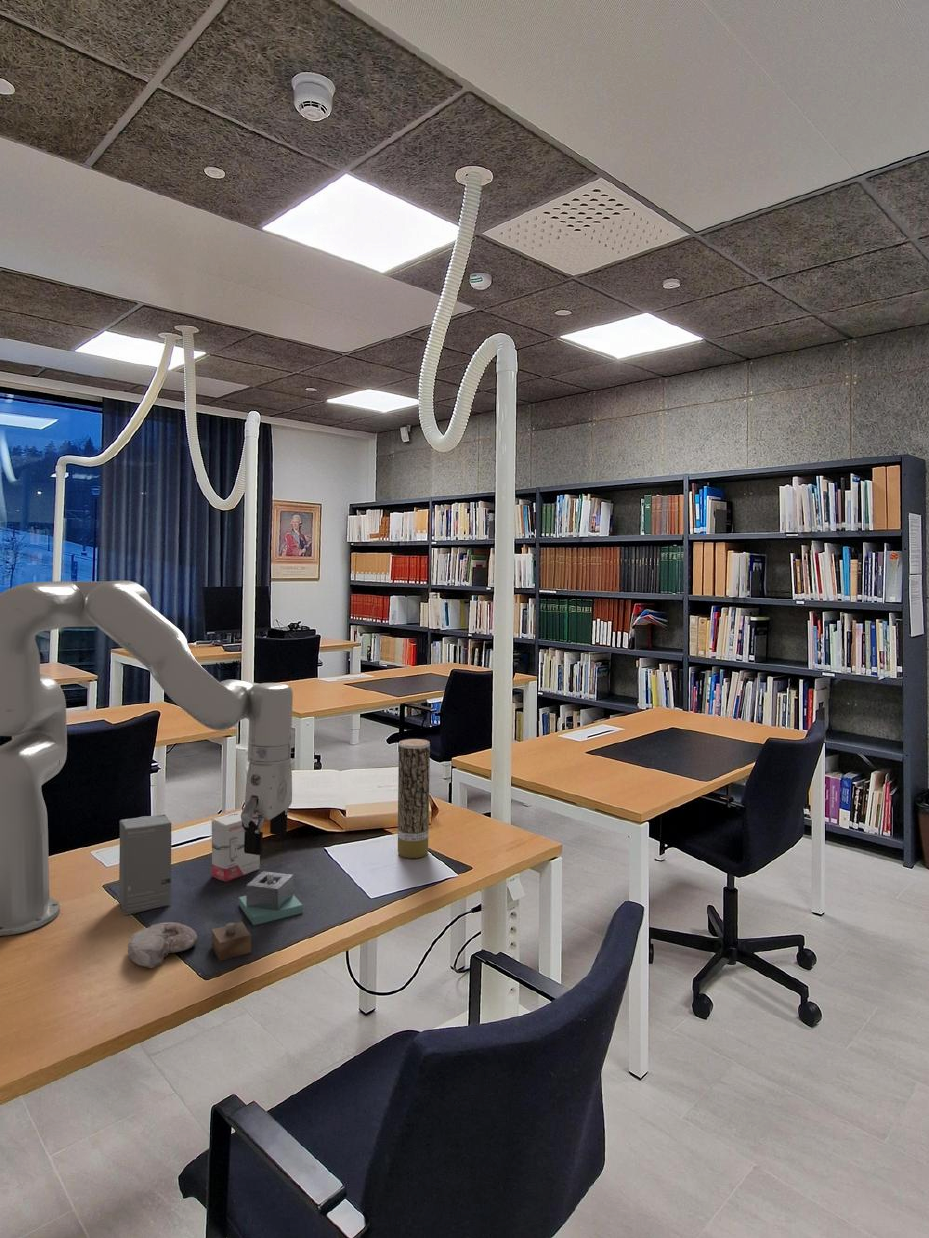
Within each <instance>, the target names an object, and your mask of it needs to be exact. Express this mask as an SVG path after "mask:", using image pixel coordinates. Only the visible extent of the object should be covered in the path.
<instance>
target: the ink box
mask: <svg viewBox="0 0 929 1238" xmlns="http://www.w3.org/2000/svg"><path fill="white" fill-rule="evenodd" d="M243 810H244V809H241V810H239V811H238V810H237V811H234V812H232V813H231V812H230V813H228V814H225V815H222V816H221V815H220V816H218V817H215V818H213V820H211V876H212V877H213V878H215V879H217V880H219V881H222V882H224V883H225V882H226V883H227V882H230V881H232V880H235V879H237V878H239V877H242V876H244V875H247V874H249V873H252V872H255V871H258V870H260V862H261V861H260V855H261V854H260V855H254V854H247V853H245V852H244V837H245V832H244V831H243V827H242V820H241V813H242V811H243ZM252 821H254V823H255V824H256V825H257V823H258V820H256V819H253V820H252Z"/></svg>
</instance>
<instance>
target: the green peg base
mask: <svg viewBox="0 0 929 1238" xmlns="http://www.w3.org/2000/svg"><path fill="white" fill-rule="evenodd" d="M275 883H276V881H274V874H273V873H269V874H267V881H266V882H265V884H275ZM238 906H239V907H240V909H241V910H242V911H243V913H244V914H245V916H246V917H247V918H248V920H249V921H250V922H251V924H252V926H257V925H260V924H264V923H269V922H272V921H276V920H281V919H284V918H289V917H291V916H292V917H293V916H295V915H300V914H303V913H304V912H303V910H304V908H303V903H301V901H300V900H299V899H298V898H297V897H296V896H295V894H293V896H292V897H291V898H290V899H289V900H288V901H287V902H286V903H285V904H284V905H283V906H282V907H281V908H280V909H279V910H278V911H276V910H269V909H261V908H253V907H246V895H242V896H239V897H238Z"/></svg>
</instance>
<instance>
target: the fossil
mask: <svg viewBox="0 0 929 1238" xmlns="http://www.w3.org/2000/svg"><path fill="white" fill-rule="evenodd" d="M197 942H198V934H197V932H196V931H195V930H194V929H193V928H191V927H190V926H187V925H185V924H182V923H180V922H170V921H166V922H160V923H156V924H152V925H150V926H149V927H146V928H143V929H140V930H138V931H137V932H135V933H133V934H131V935H130V939H129V941H128V944H127V955H128V956H129V958H130V959H131V961H132V962H134V963H135V964H136V965H138V966H141V967H145V968H151V969H152V968H156V967H159V966H160V965H162V964H163V963H164V959H165V958H166V957H167V956H168V954H170V953H179V952H184V951H186V950H189V949H190V948H193V947H194V946H195V945H196V943H197Z"/></svg>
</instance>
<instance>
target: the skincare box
mask: <svg viewBox="0 0 929 1238" xmlns="http://www.w3.org/2000/svg"><path fill="white" fill-rule="evenodd" d="M118 864H119V865H118V867H119V869H118V870H119V871H118V873H119V874H118V876H119V877H118V902H119V904H120V907H121V910H122V912H123V914H124V916H129V915H132V914H136V913H141V912H145V911H146V912H147V911H151V910H154V909H158V908H162V907H168V906H171V902H172V901H171V900H172V899H171V898H172V895H171V894H172V893H171V889H172V821H171V820H170V818H169V817H168V816H167V815H166V814H157V815H149V816H147V815H144V816H139V817H132V818H125V819H124V818H123V819H120V820H119V863H118Z"/></svg>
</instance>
